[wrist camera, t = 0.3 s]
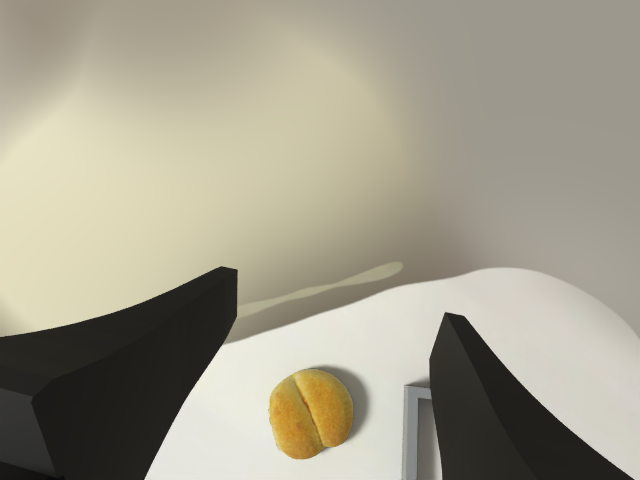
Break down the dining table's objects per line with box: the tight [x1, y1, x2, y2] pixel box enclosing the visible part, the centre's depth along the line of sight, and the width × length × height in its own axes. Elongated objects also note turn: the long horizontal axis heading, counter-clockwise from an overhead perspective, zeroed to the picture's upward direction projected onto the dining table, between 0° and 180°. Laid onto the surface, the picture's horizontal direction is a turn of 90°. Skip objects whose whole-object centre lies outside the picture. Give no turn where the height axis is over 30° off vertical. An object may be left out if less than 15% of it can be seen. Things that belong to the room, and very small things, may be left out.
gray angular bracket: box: [402, 385, 432, 480], centre depth 36 cm, size 10×10×2 cm
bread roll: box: [268, 369, 353, 459], centre depth 37 cm, size 8×9×4 cm
